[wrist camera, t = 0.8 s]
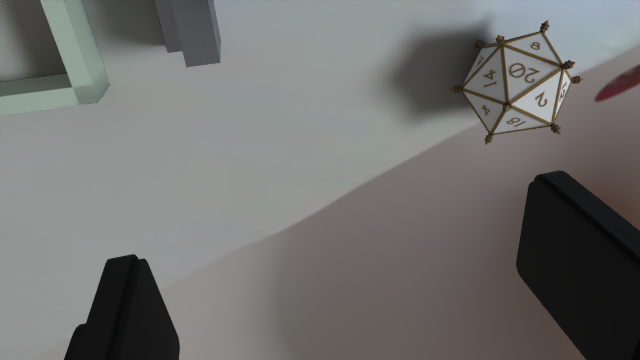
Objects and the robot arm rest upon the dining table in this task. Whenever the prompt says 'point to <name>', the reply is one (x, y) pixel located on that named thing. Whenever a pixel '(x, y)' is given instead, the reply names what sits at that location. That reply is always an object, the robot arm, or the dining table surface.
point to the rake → (190, 30)
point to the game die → (517, 84)
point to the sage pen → (79, 60)
